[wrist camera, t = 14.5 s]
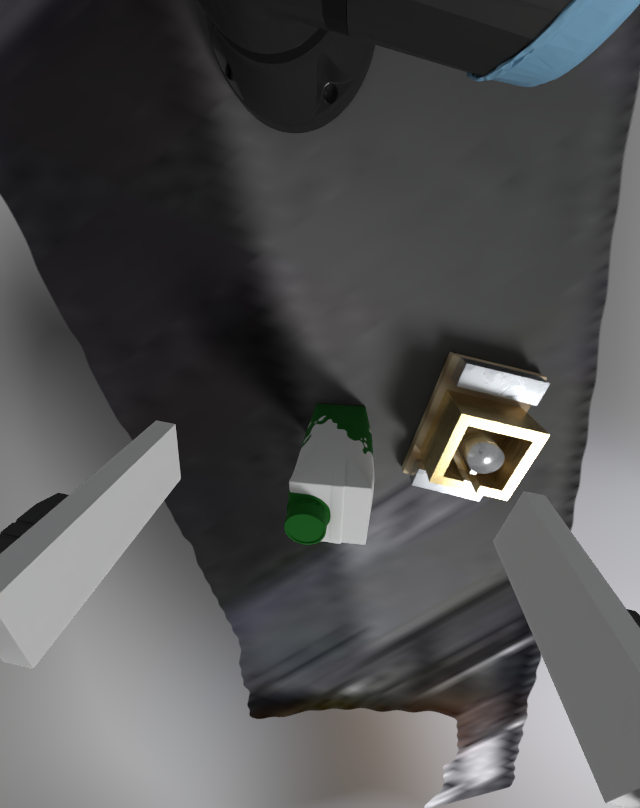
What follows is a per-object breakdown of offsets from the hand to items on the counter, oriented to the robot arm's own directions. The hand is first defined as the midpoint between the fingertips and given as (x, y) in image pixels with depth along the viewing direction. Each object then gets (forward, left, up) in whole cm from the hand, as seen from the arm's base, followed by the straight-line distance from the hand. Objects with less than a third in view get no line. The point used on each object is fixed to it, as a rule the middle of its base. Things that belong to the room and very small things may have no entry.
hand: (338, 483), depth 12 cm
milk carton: (+15, +2, -31) cm, 35 cm away
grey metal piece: (+10, +19, -30) cm, 37 cm away
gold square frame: (+10, +19, -30) cm, 37 cm away
